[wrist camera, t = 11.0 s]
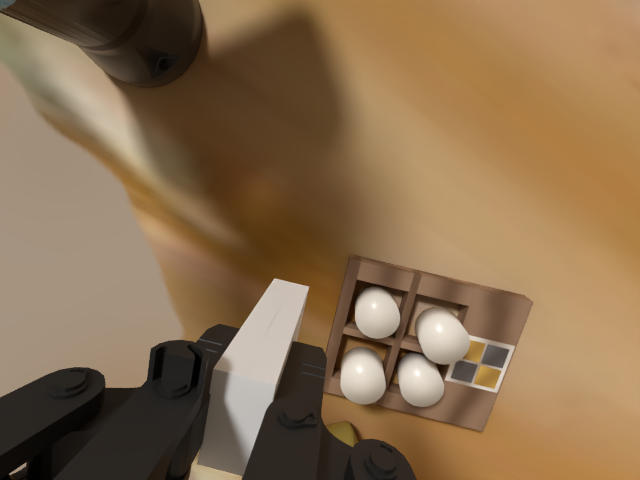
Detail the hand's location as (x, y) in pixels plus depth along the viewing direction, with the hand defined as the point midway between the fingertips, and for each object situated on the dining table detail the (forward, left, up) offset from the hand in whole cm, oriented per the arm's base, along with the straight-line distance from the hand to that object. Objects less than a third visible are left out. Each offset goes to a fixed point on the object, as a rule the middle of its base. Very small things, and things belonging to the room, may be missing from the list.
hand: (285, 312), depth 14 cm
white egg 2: (+9, -19, -29) cm, 36 cm away
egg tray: (+16, -15, -32) cm, 39 cm away
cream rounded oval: (+17, -19, -32) cm, 41 cm away
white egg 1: (+9, -11, -32) cm, 35 cm away
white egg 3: (+17, -11, -29) cm, 35 cm away
